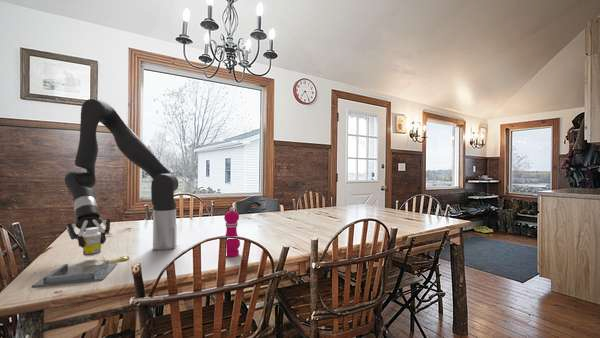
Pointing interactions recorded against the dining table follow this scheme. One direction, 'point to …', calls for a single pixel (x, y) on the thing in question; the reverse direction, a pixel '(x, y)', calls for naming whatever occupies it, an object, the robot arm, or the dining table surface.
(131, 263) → the dining table surface
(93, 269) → the dark grey tray
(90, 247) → the supplement bottle
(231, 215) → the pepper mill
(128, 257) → the brass lever handle
